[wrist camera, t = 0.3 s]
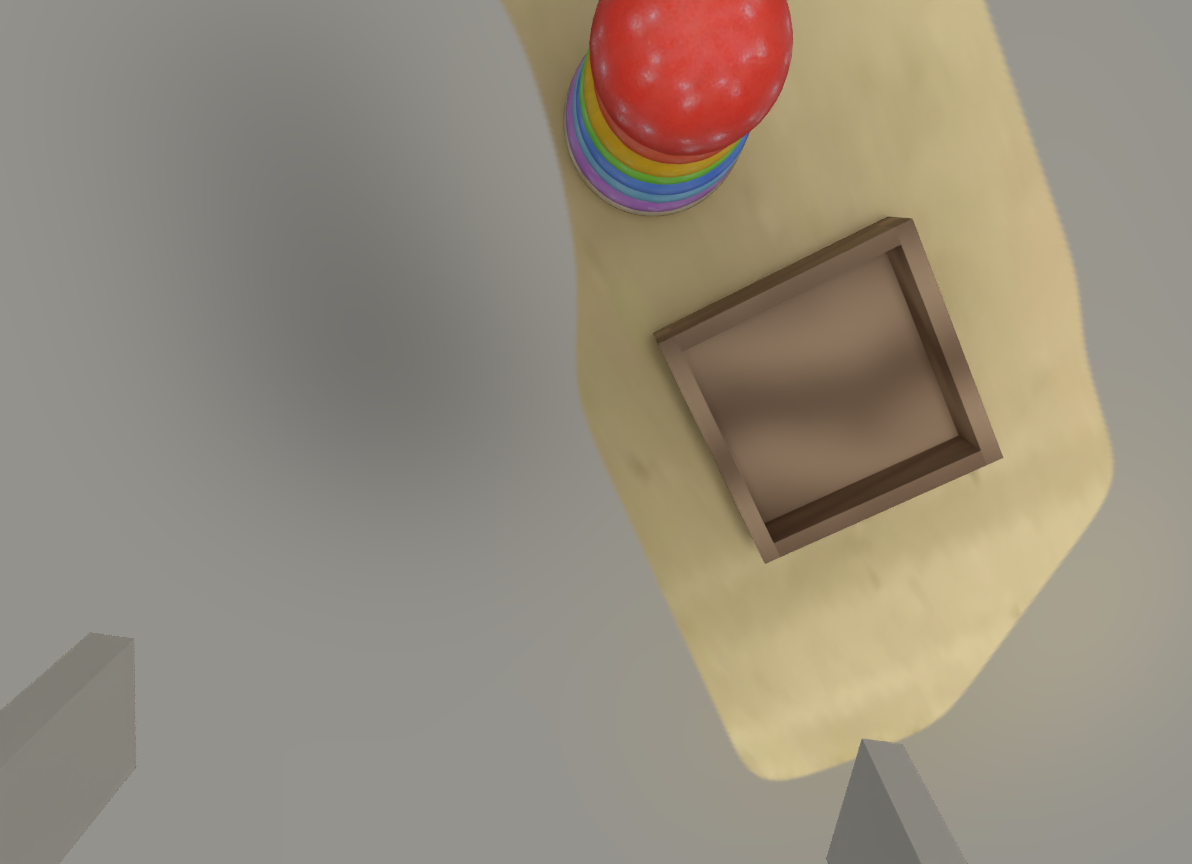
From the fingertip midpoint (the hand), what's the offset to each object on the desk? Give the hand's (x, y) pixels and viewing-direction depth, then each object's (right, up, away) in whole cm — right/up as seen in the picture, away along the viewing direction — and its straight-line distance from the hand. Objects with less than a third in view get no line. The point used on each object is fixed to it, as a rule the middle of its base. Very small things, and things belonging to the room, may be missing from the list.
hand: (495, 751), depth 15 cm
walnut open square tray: (+13, +8, +25) cm, 29 cm away
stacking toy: (+4, +20, +22) cm, 30 cm away
